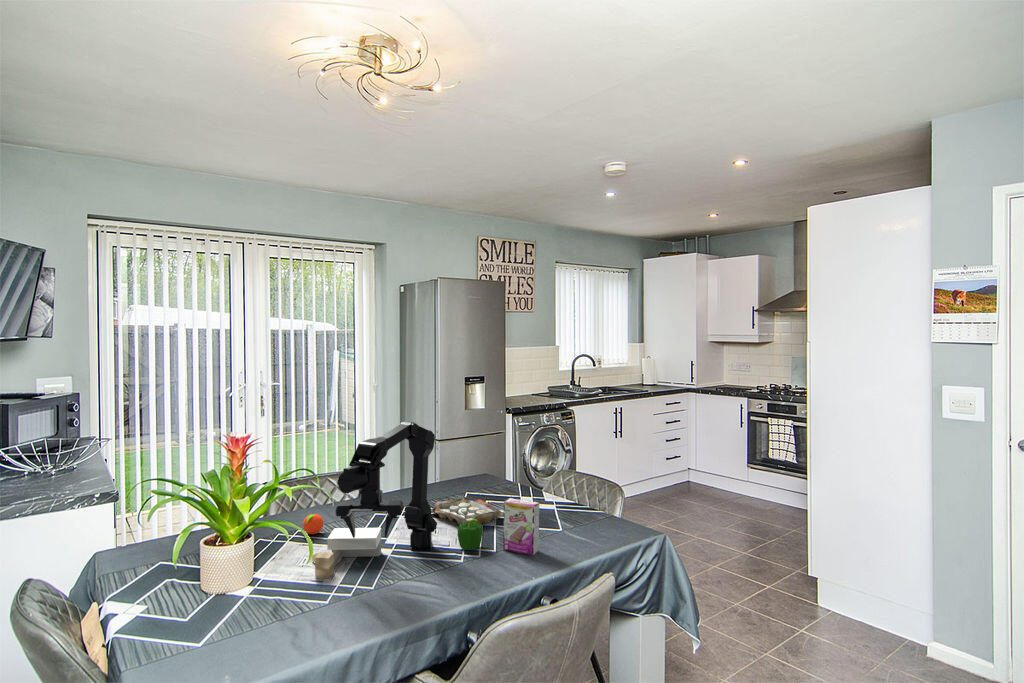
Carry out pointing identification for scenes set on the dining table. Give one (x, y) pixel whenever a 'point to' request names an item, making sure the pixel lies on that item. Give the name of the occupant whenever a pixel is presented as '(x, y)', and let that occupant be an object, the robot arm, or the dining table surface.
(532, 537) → the candy bar box
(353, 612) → the dining table surface
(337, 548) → the white rectangular box
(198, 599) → the dining table surface
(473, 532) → the bell pepper
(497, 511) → the egg carton
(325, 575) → the wooden mallet
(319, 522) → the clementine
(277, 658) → the dining table surface
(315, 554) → the token
